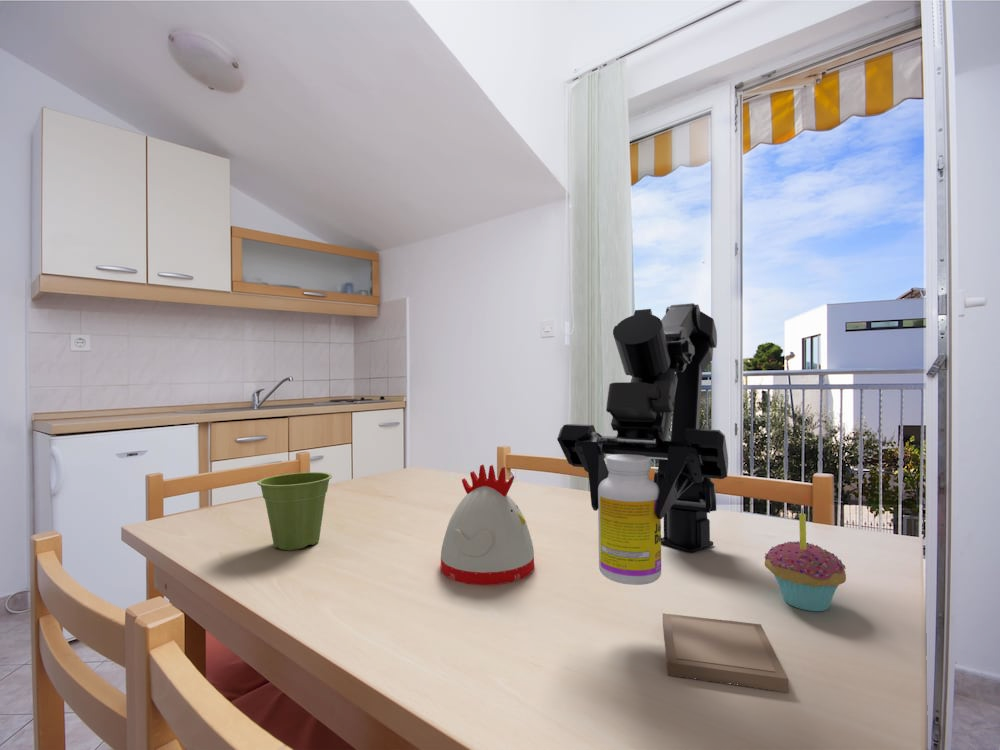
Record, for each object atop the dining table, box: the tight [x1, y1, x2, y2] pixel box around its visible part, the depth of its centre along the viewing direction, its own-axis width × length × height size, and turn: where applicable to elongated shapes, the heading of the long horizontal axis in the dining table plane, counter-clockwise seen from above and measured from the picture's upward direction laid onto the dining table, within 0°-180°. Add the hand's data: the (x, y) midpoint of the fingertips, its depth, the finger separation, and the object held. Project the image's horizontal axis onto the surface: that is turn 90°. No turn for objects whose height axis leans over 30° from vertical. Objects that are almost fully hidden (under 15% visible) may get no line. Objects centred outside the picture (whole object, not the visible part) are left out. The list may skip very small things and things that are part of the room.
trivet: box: [662, 613, 789, 693], centre depth 49 cm, size 10×10×1 cm
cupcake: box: [764, 507, 847, 612], centre depth 61 cm, size 9×8×12 cm
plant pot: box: [256, 471, 333, 551], centre depth 85 cm, size 12×12×11 cm
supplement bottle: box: [597, 454, 662, 586], centre depth 54 cm, size 7×7×13 cm
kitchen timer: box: [440, 464, 535, 586], centre depth 74 cm, size 14×14×15 cm
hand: (625, 512), depth 53 cm, fingers closed on supplement bottle, 7 cm apart
